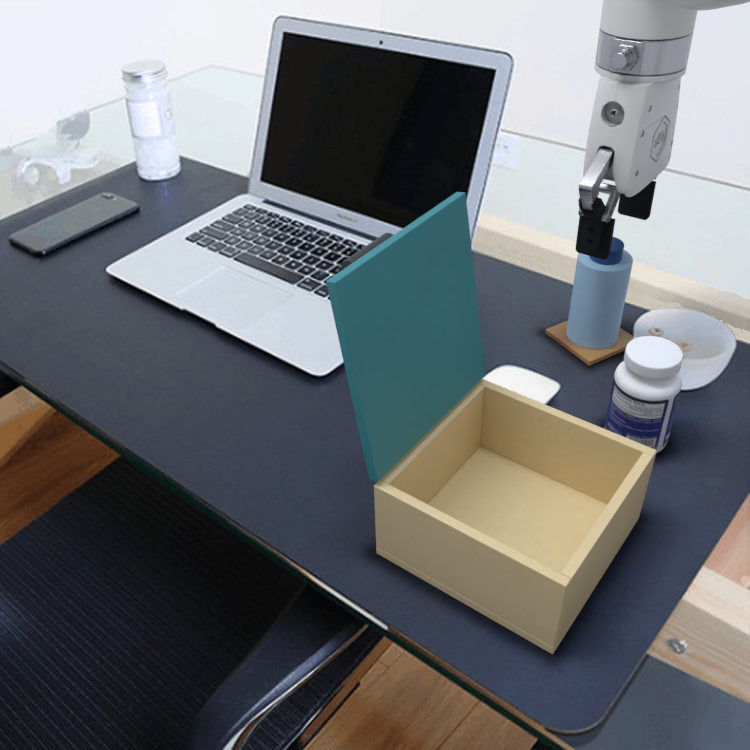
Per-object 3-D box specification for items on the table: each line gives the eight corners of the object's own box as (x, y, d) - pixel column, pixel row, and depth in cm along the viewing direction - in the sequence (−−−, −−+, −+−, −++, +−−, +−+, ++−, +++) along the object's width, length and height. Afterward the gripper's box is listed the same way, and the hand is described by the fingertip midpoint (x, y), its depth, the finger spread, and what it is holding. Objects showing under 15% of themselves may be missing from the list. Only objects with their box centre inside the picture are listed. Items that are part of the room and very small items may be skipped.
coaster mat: (638, 344, 85) (639, 340, 85) (589, 366, 82) (590, 361, 82) (592, 314, 90) (593, 309, 89) (544, 333, 87) (545, 328, 87)
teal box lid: (465, 192, 60) (417, 187, 62) (334, 282, 50) (284, 273, 52) (485, 374, 68) (443, 364, 71) (377, 482, 58) (332, 466, 61)
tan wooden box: (638, 518, 66) (657, 450, 61) (552, 655, 56) (566, 586, 51) (476, 444, 73) (481, 378, 69) (375, 553, 64) (373, 485, 59)
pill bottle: (631, 409, 77) (651, 324, 71) (680, 441, 73) (705, 355, 67) (589, 432, 74) (605, 346, 68) (637, 467, 71) (659, 380, 64)
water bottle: (628, 339, 85) (647, 246, 78) (590, 355, 83) (606, 262, 76) (593, 315, 88) (608, 225, 82) (555, 330, 86) (568, 239, 80)
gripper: (646, 86, 60) (613, 283, 70) (720, 34, 71) (682, 211, 81) (555, 72, 64) (537, 260, 74) (639, 24, 75) (613, 194, 85)
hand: (613, 234), depth 78 cm, fingers open, 9 cm apart
